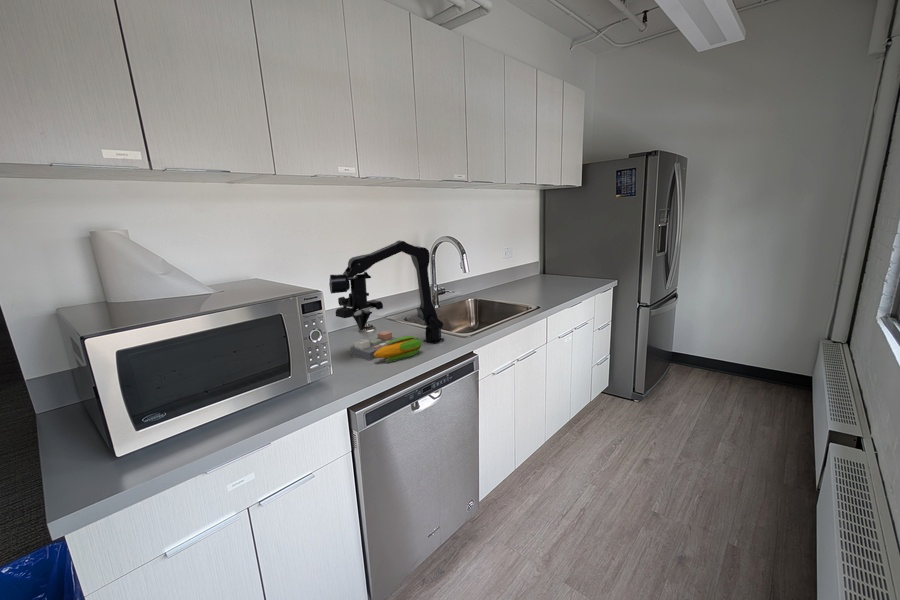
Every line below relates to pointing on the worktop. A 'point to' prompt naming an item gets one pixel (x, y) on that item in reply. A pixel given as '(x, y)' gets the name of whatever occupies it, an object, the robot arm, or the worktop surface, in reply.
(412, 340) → the corn
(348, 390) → the worktop surface
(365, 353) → the keypad
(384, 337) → the key terracotta
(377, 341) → the key sage
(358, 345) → the key offwhite
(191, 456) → the worktop surface
